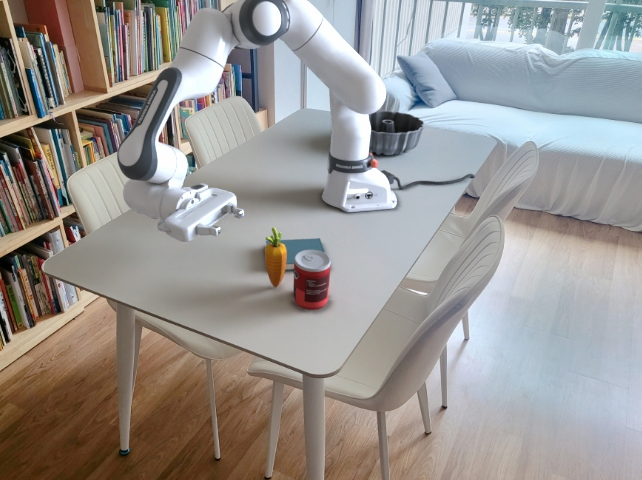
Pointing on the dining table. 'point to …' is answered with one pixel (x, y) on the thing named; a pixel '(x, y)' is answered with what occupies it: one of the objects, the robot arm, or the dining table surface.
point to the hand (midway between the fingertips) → (230, 222)
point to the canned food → (311, 279)
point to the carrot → (275, 258)
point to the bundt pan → (394, 132)
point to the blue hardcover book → (299, 249)
